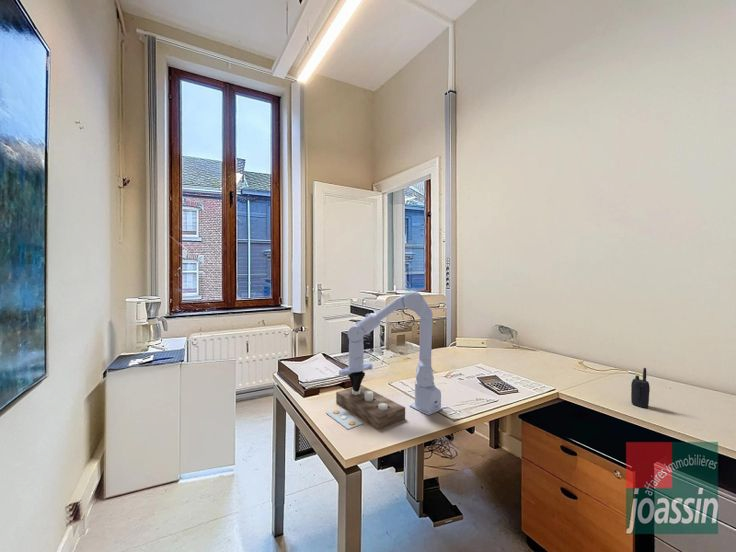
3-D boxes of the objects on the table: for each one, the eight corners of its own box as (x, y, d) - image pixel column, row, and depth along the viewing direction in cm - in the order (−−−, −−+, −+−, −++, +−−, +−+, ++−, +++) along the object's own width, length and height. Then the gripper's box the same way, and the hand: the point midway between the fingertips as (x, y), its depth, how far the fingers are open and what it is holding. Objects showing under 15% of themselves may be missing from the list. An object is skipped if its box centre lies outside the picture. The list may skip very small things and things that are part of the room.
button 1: (361, 401, 124) (362, 390, 124) (355, 403, 122) (355, 392, 122) (357, 398, 127) (357, 388, 127) (350, 400, 125) (350, 390, 125)
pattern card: (362, 424, 108) (362, 422, 108) (348, 429, 104) (348, 428, 104) (340, 409, 119) (340, 407, 119) (326, 413, 115) (326, 412, 115)
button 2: (389, 416, 112) (389, 405, 111) (382, 419, 110) (382, 407, 109) (383, 413, 114) (383, 402, 114) (376, 415, 112) (376, 404, 112)
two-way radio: (650, 407, 121) (652, 368, 120) (645, 410, 118) (646, 370, 118) (632, 402, 125) (634, 364, 125) (627, 404, 123) (628, 366, 123)
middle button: (374, 403, 118) (374, 392, 118) (368, 406, 116) (368, 395, 116) (369, 400, 120) (369, 390, 120) (362, 402, 118) (362, 392, 118)
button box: (405, 418, 112) (405, 407, 111) (378, 429, 104) (378, 417, 104) (361, 394, 132) (361, 384, 132) (336, 402, 125) (336, 392, 125)
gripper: (364, 350, 131) (364, 383, 132) (334, 357, 123) (334, 391, 123) (375, 354, 126) (375, 388, 126) (344, 361, 117) (344, 398, 118)
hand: (356, 390), depth 124 cm, fingers closed, pressing on button 1
